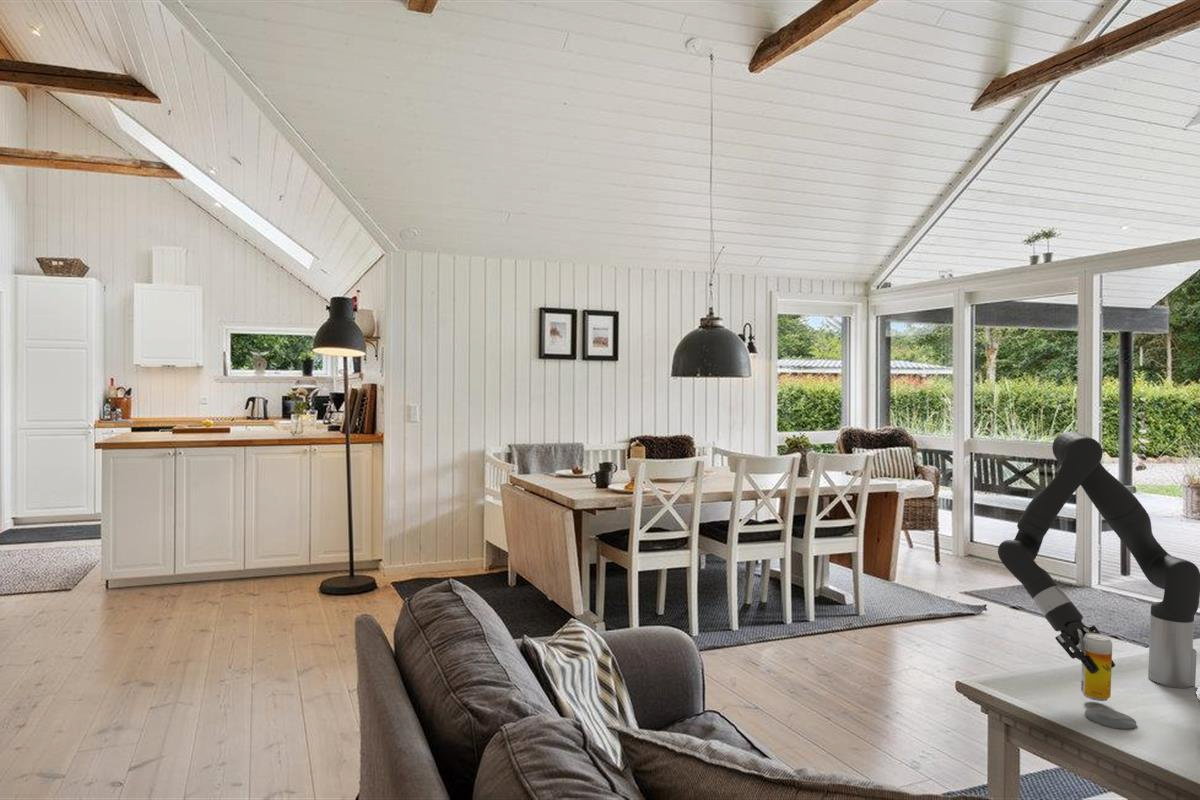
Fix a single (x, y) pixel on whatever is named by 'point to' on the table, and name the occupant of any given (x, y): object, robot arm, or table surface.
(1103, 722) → the slate coaster
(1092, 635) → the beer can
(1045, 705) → the table surface
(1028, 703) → the table surface
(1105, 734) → the table surface
